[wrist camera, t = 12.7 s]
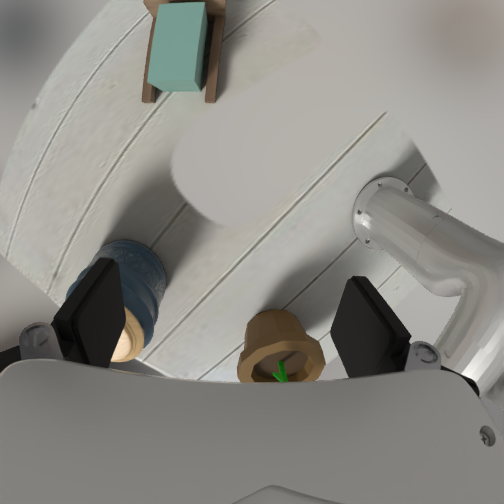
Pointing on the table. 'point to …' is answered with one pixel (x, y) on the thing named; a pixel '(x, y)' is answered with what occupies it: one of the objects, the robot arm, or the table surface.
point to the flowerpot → (279, 350)
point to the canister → (134, 293)
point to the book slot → (216, 14)
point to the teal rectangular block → (178, 47)
